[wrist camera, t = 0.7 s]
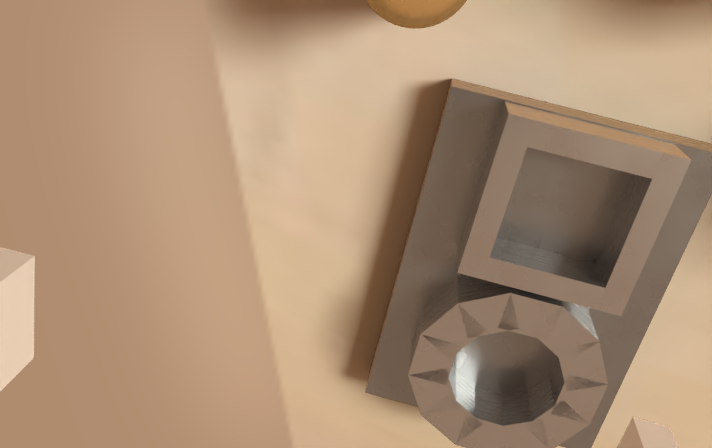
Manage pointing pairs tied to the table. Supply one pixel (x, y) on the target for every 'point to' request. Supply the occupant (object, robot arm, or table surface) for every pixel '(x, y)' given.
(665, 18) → the table surface
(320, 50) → the table surface
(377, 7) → the brass cylinder peg
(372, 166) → the table surface
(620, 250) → the jig
